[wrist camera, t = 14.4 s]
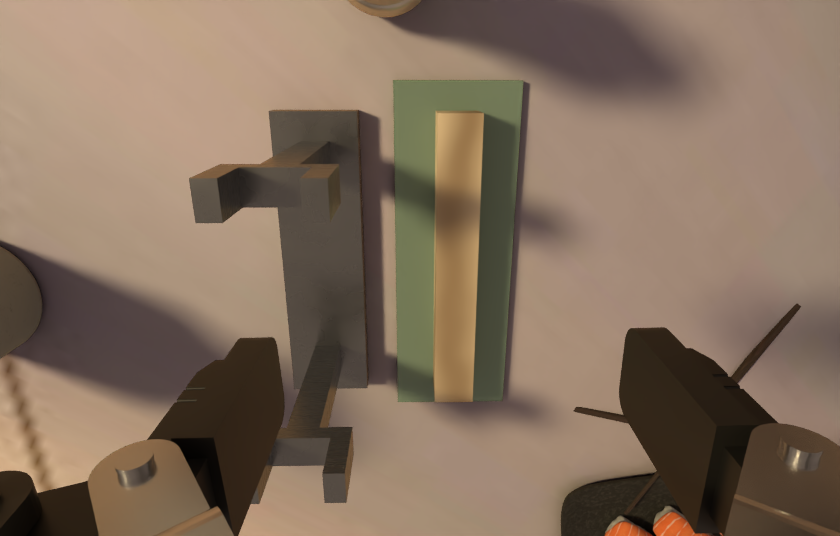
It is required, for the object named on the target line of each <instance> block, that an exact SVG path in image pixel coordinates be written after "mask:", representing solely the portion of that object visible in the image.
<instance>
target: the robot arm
mask: <svg viewBox="0 0 840 536" xmlns="http://www.w3.org/2000/svg"><path fill="white" fill-rule="evenodd" d="M619 398H620V404H621V408H622V412H623V414H624V416H625V418H626V420H627V421H628V423H629V425H630V426H631V428H632V430H633V431H634V433H635V435H636V436H637V438H638V440H639V441H640V443H641V445H642V446H643V448H644V450H645V451H646V453H647V455H648V456H649V458H650V460H651V461H652V463H653V465H654V466H655V468H656V470H657V471H658V473H659V475H660V476H661V478H662V480H663V481H664V483H665V485H666V486H667V488H668V490H669V491H670V493H671V495H672V496H673V498H674V500H675V501H676V503H677V505H678V506H679V508H680V510H681V511H682V513H683V514H684V516H685V518H686V519H687V521H688V523H689V524H690V526H691V528H692V529H693V531H694V533H695V534H701V533H722V535H723V536H840V446H838V445H837V444H835V443H834V442H832V441H831V440H829V439H828V438H826V437H824V436H822V435H820V434H818V433H815V432H813V431H810V430H807V429H804V428H801V427H797V426H794V425H788V424H780V423H778V422H777V421H775V420H774V419H773V418H772V417H771V416H770V415H769V414H768V413H767V412H766V411H765V410H764V409H763V408H762V407H761V406H760V405H759V404H758V403H757V402H756V401H755V400H754V399H753V398H752V397H751V396H750V395H749V394H748V393H747V392H746V391H745V390H744V389H740V386H739V385H738V384H737V383H736V382H735V381H734V380H733V379H732V378H731V377H728V374H727V373H726V372H725V371H724V370H723V369H722V368H721V367H720V366H719V365H718V364H717V363H716V362H715V361H714V360H712V359H710V358H708V357H707V356H705V355H703V354H701V353H699V352H697V351H696V350H694V349H692V348H685V347H684V346H683V344H682V343H681V342H680V341H679V340H678V339H677V338H676V337H675V336H674V335H673V334H672V333H671V332H670V331H669V330H668V329H667V328H663V327H661V328H631V329H629V330H628V332H627V334H626V338H625V345H624V353H623V362H622V370H621V378H620V386H619ZM283 416H284V392H283V384H282V377H281V370H280V363H279V356H278V349H277V344H276V341H275V339H274V338H272V337H268V338H240V339H238V341H237V342H236V343H235V345H234V346H233V348H232V349H231V351H230V352H229V354H228V355H227V357H226V358H225V359H224V360H215V361H214V362H212V363H211V364H209V365H208V366H206V367H205V368H203V369H202V370H200V371H199V372H198V373H196V375H195V376H194V377H193V379H192V380H191V381H190V383H189V384H188V386H187V387H186V390H184V391H183V392H182V394H181V395H180V396H179V398H178V399H177V403H174V404H173V406H172V407H171V408H170V410H169V411H168V412H167V414H166V415H165V416H164V418H163V419H162V421H161V422H160V423H159V425H158V426H157V427H156V429H155V430H154V431H153V433H152V434H151V435H150V437H149V438H148V439H147V440H144V441H140V442H136V443H133V444H130V445H127V446H125V447H123V448H120V449H119V450H117V451H115V452H113V453H111V454H110V455H108V456H107V457H106V458H104V459H103V460H102V461H101V462H100V463H99V464H98V465H96V467H95V468H94V469H93V470H92V472H91V474H90V476H89V479H88V481H86V482H82V483H78V484H74V485H70V486H65V487H61V488H57V489H53V490H49V491H45V492H40V493H37V491H36V489H35V486H34V483H33V480H32V478H31V477H30V476H29V475H28V474H27V473H24V472H21V471H2V472H0V536H238V534H239V532H240V529H241V527H242V524H243V522H244V519H245V517H246V514H247V511H248V509H249V506H250V504H251V501H252V499H253V496H254V494H255V491H256V489H257V486H258V483H259V481H260V478H261V476H262V473H263V471H264V468H265V466H266V463H267V460H268V458H269V455H270V453H271V450H272V448H273V445H274V443H275V440H276V437H277V435H278V432H279V430H280V427H281V425H282V421H283Z"/></svg>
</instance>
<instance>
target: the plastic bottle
mask: <svg viewBox="0 0 840 536" xmlns="http://www.w3.org/2000/svg"><path fill="white" fill-rule="evenodd" d="M348 1H349V2H350V3H351V4H352V5H353V6H355V7H356V8H358V9H359V10H360V11H363V12H365V13H367V14H369V15H373V16H377V17H394V16H399V15H402V14H404V13H406V12H408V11H410V10H411V9H413V8H414V7H415V6H417V5H418V4H419V3H420V2H421V0H348Z"/></svg>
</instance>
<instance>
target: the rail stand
mask: <svg viewBox="0 0 840 536" xmlns="http://www.w3.org/2000/svg"><path fill="white" fill-rule="evenodd" d="M269 119H270V130H271V140H272V151H273V157H272V158H270V159H268V160H266V161H265V162H263V163H261V164H220V165H218V166H215V167H213V168H211V169H209V170H206V171H204V172H202V173H200V174H198V175H195V176H193V177H191V178H189V182H190V189H191V195H192V202H193V209H194V215H195V222H196V223H223V222H225V221H226V220H227V219H228V218H230V217H231V216H232V215H234V214H235V213H236V212H237V211H239V210H240V209H241V208H243V207H278V216H279V227H280V238H281V248H282V259H283V270H284V281H285V292H286V302H287V313H288V324H289V335H290V346H291V356H292V367H293V378H294V389H300V391H299V394H298V397H297V400H296V403H295V406H294V409H293V411H292V414H291V417H290V420H289V423H288V426H287V428H280V430H279V432H278V435H277V437H276V440H275V443H274V445H273V448H272V450H271V453H270V455H269V458H268V460H267V463H266V466H265V468H264V471H263V473H262V476H261V478H260V481H259V483H258V486H257V489H256V491H255V494H254V496H253V499H252V501H251V504H259V503H260V500H261V498H262V495H263V492H264V489H265V486H266V483H267V481H268V478H269V475H270V472H271V469H272V466H310V465H324V469H323V487H324V500H325V503H346V502H347V495H348V489H349V482H350V475H351V468H352V462H353V455H354V451H353V432H352V427H328V425H329V420H330V416H331V412H332V407H333V403H334V399H335V394H336V390H337V388H367V386H368V379H369V377H368V349H367V321H366V294H365V266H364V239H363V211H362V183H361V156H360V128H359V110H271V111H269Z"/></svg>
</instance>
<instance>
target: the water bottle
mask: <svg viewBox="0 0 840 536" xmlns="http://www.w3.org/2000/svg"><path fill="white" fill-rule="evenodd" d="M41 315H42V298H41V293H40V289H39V287H38V285H37V282H36V280H35V278H34V277H33V275H32V274H31V272H30V271H29V269H28V268H27V267H26V266H25V265H24V264H23V263H22V262H21V261H20V260H19V259H18V258H17V257H16V256H14V255H13V254H12V253H10V252H9V251H7V250H6V249H4V248H2V247H0V359H1V358H2V357H4V356H5V355H7V354H8V353H10V352H11V351H12V350H14V349H15V348H17V347H18V346H20V345H21V344H23V343H24V342H26V341H27V340H28V339H29V338H30V337H31V335H32V334H33V333H34V332H35V330H36V328H37V327H38V325H39V323H40V319H41Z"/></svg>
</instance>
